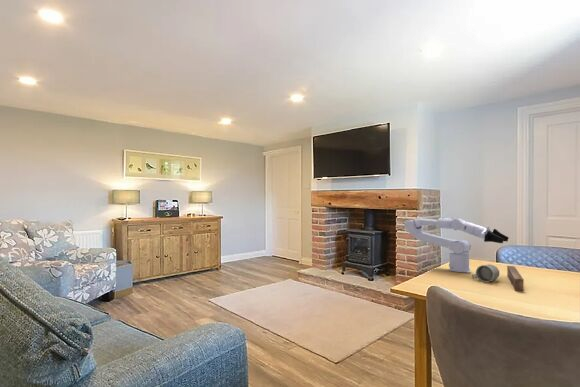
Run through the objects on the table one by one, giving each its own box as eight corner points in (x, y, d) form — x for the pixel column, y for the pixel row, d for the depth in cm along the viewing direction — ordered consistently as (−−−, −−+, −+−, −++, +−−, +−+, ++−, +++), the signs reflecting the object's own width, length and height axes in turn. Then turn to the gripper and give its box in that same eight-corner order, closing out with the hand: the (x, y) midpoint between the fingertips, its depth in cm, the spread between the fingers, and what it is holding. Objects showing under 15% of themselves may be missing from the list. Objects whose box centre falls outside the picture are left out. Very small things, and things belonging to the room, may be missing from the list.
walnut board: (514, 290, 137) (514, 278, 137) (507, 275, 160) (507, 265, 160) (523, 291, 135) (523, 279, 135) (514, 276, 158) (514, 266, 158)
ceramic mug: (500, 280, 152) (500, 264, 152) (493, 283, 147) (493, 266, 147) (476, 276, 160) (476, 260, 160) (469, 279, 155) (468, 263, 155)
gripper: (473, 224, 160) (503, 234, 150) (483, 221, 169) (512, 231, 160) (468, 237, 161) (498, 248, 152) (479, 234, 171) (507, 244, 161)
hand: (505, 240), depth 156 cm, fingers open, 7 cm apart
